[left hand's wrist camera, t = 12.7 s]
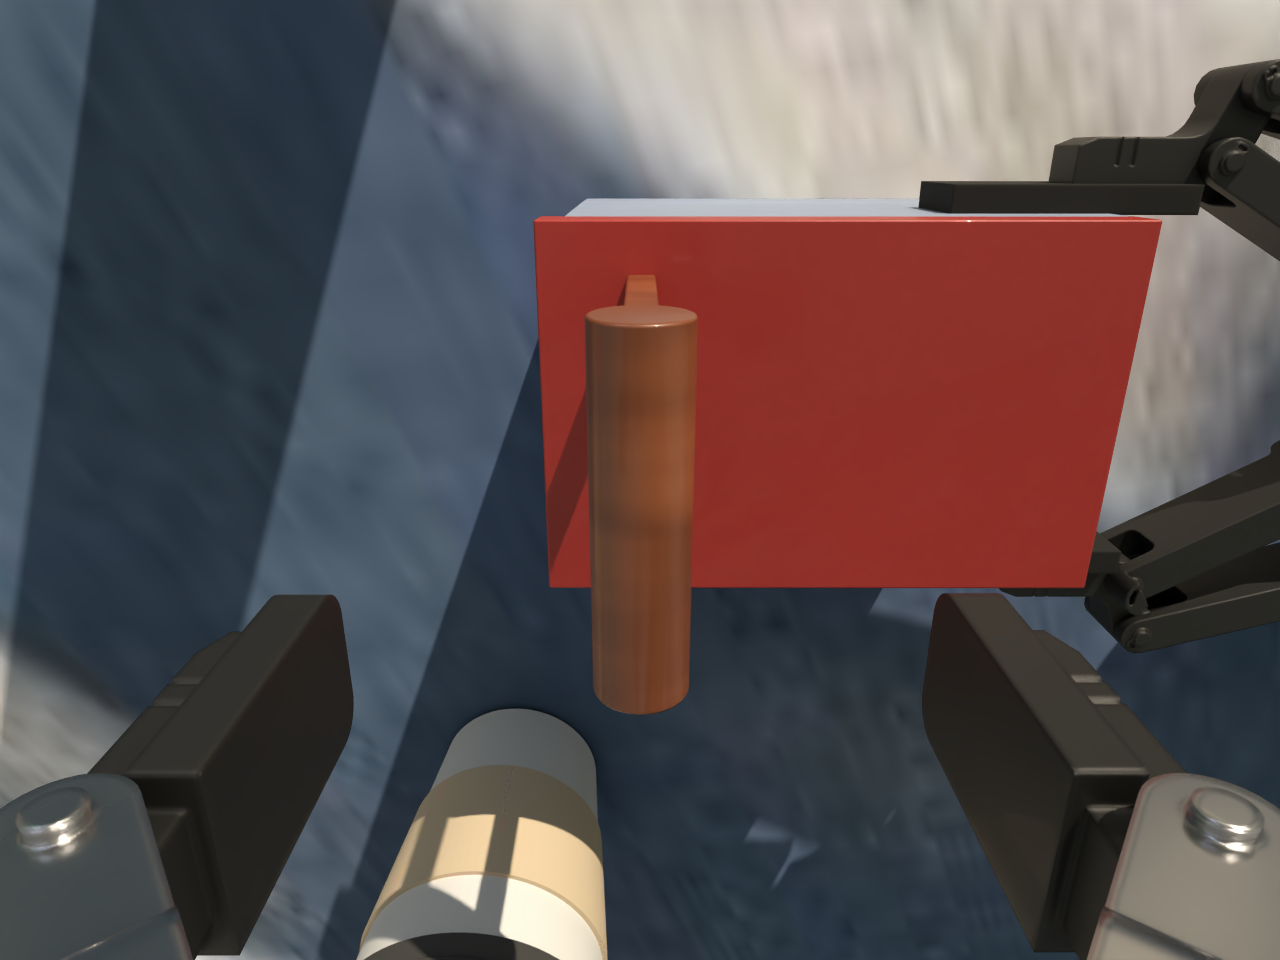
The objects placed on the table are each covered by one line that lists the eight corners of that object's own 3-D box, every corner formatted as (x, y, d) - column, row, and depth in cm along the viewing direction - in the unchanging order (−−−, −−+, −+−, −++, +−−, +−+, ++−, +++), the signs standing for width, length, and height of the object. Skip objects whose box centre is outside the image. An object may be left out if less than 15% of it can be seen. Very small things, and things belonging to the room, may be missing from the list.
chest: (590, 461, 33) (573, 566, 25) (585, 198, 30) (562, 216, 21) (953, 461, 33) (1062, 567, 25) (991, 198, 30) (1133, 216, 21)
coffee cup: (535, 877, 41) (481, 1254, 27) (382, 777, 39) (236, 1130, 25) (661, 763, 38) (673, 1113, 24) (504, 650, 36) (419, 961, 22)
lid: (553, 567, 25) (511, 763, 17) (539, 216, 21) (477, 252, 13) (1063, 568, 25) (1264, 763, 17) (1134, 216, 21) (1431, 253, 13)
